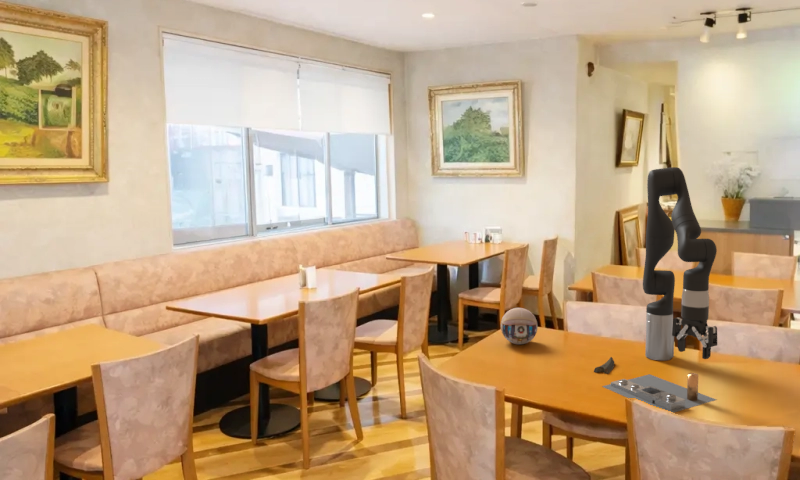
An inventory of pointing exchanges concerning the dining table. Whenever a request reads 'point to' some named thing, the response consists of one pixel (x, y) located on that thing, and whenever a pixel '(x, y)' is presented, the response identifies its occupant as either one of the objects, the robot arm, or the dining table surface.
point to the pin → (692, 387)
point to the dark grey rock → (605, 367)
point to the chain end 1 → (631, 388)
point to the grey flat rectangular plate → (664, 386)
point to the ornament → (519, 326)
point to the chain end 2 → (662, 398)
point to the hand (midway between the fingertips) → (693, 354)
